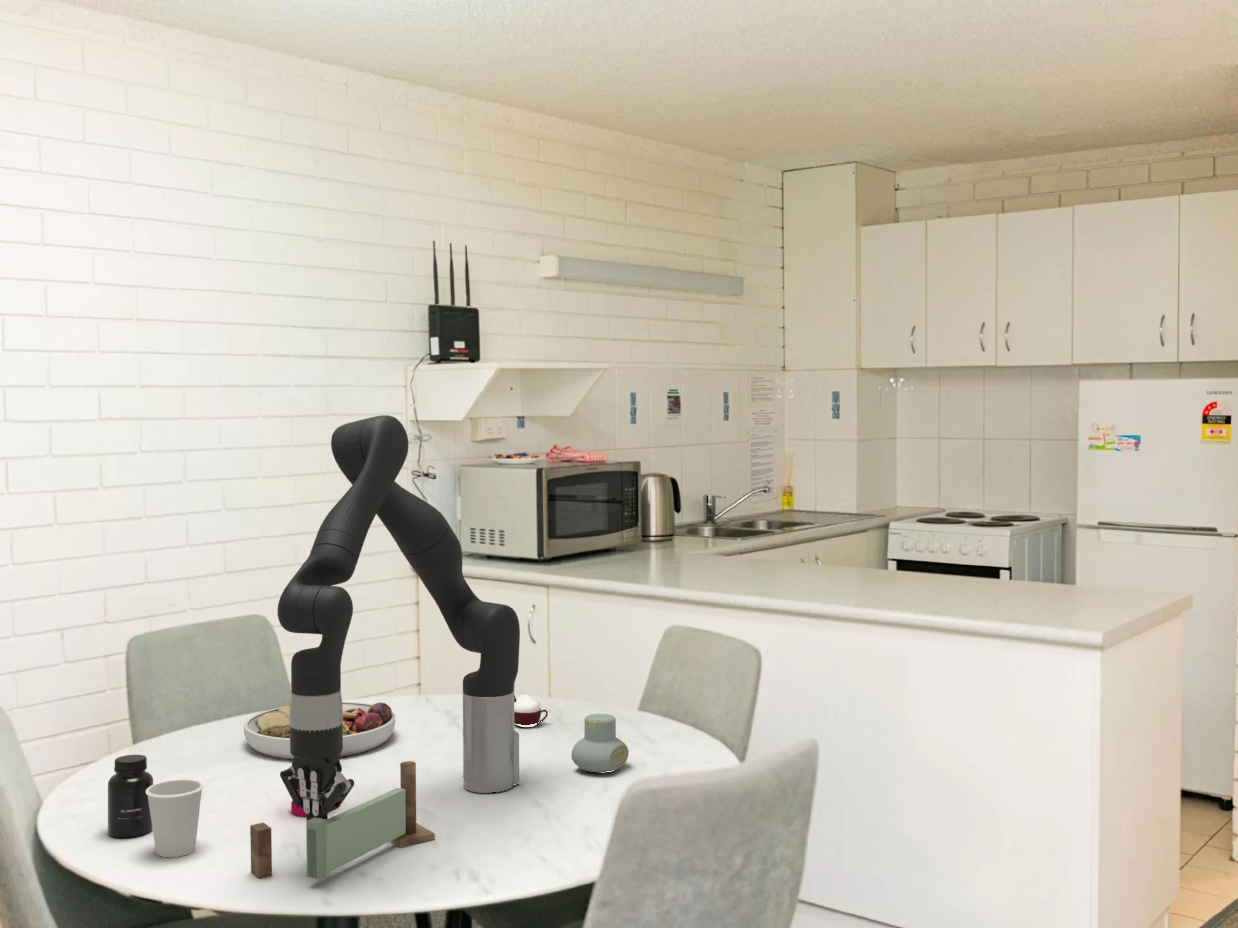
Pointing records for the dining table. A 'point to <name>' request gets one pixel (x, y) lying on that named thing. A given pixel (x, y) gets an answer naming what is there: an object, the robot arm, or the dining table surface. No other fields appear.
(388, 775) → the dining table surface
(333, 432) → the robot arm
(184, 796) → the dixie cup
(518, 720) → the cocoa
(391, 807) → the panel
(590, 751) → the air freshener
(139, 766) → the supplement bottle
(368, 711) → the bowl
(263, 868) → the wooden pieces
